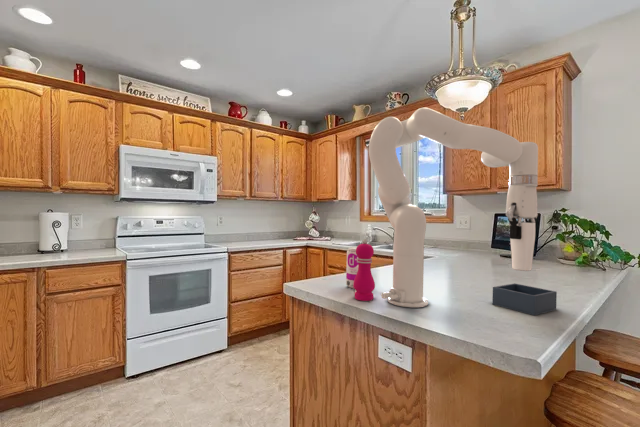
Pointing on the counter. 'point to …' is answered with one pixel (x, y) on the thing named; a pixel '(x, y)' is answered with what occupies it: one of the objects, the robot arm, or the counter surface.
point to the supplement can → (351, 266)
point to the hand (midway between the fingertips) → (522, 238)
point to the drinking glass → (523, 248)
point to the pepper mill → (364, 272)
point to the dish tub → (524, 298)
